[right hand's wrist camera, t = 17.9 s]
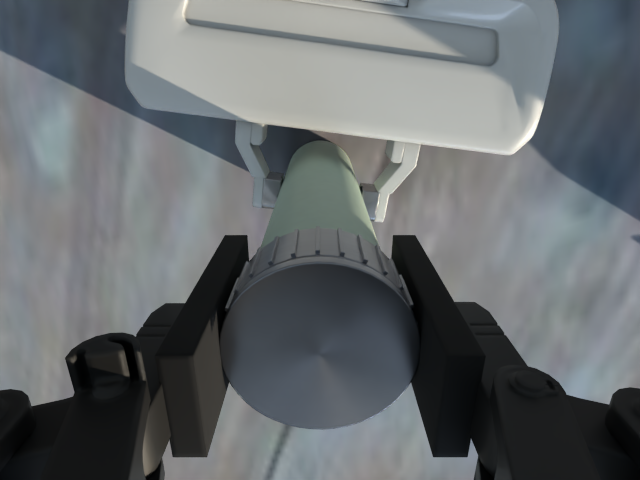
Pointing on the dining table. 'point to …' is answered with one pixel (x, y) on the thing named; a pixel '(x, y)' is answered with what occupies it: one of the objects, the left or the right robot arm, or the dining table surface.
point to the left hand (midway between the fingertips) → (318, 212)
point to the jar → (320, 195)
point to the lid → (320, 330)
